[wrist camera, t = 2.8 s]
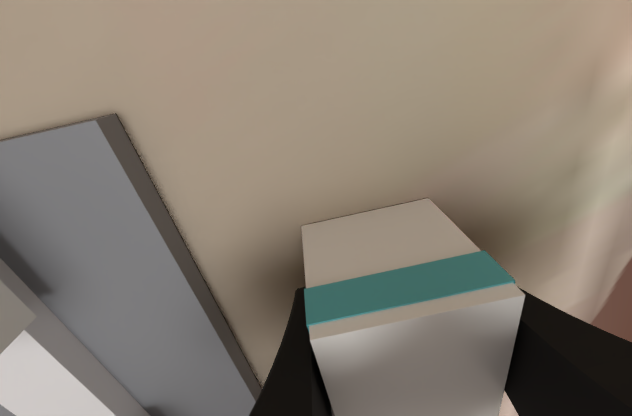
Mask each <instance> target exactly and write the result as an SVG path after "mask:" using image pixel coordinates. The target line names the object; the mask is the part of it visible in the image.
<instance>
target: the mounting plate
mask: <svg viewBox="0 0 632 416" xmlns="http://www.w3.org/2000/svg"><path fill="white" fill-rule="evenodd" d="M261 390H262V389H261V387H260V386H259V384H258V382H257V380H256V378H255V376H254V374H253V372H252V370H251V369H250V367H249V365H248V363H247V361H246V359H245V357H244V355H243V353H242V352H241V350H240V348H239V346H238V344H237V342H236V340H235V338H234V336H233V335H232V333H231V331H230V329H229V327H228V325H227V323H226V321H225V319H224V318H223V316H222V314H221V312H220V310H219V308H218V306H217V304H216V302H215V301H214V299H213V297H212V295H211V293H210V291H209V289H208V287H207V285H206V284H205V282H204V280H203V278H202V276H201V274H200V272H199V270H198V268H197V267H196V265H195V263H194V261H193V259H192V257H191V255H190V253H189V251H188V249H187V248H186V246H185V244H184V242H183V240H182V238H181V236H180V234H179V232H178V231H177V229H176V227H175V225H174V223H173V221H172V219H171V217H170V215H169V214H168V212H167V210H166V208H165V206H164V204H163V202H162V200H161V198H160V197H159V195H158V193H157V191H156V189H155V187H154V185H153V183H152V181H151V180H150V178H149V176H148V174H147V172H146V170H145V168H144V166H143V164H142V163H141V161H140V159H139V157H138V155H137V153H136V151H135V149H134V147H133V146H132V144H131V142H130V140H129V138H128V136H127V134H126V132H125V130H124V129H123V127H122V125H121V123H120V121H119V119H118V117H117V115H116V114H112V115H107V116H103V117H99V118H94V119H90V120H86V121H81V122H77V123H73V124H68V125H64V126H59V127H55V128H51V129H46V130H42V131H38V132H33V133H29V134H25V135H20V136H16V137H12V138H7V139H3V140H0V416H249V414H250V412H251V410H252V408H253V406H254V405H255V403H256V401H257V399H258V397H259V395H260V392H261Z"/></svg>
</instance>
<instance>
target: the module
mask: <svg viewBox="0 0 632 416" xmlns="http://www.w3.org/2000/svg"><path fill="white" fill-rule="evenodd" d="M301 229H302V242H303V256H304V269H305V282H306V289H304V297H305V312H306V325H307V328H308V331H309V334H310V342H311V345H312V348H313V351H314V354H315V357H316V360H317V363H318V366H319V369H320V372H321V375H322V378H323V381H324V385H325V388H326V391H327V394H328V397H329V400H330V403H331V406H332V409H333V412H334V415H335V416H499V411H500V407H501V402H502V398H503V393H504V389H505V384H506V380H507V375H508V371H509V366H510V362H511V357H512V353H513V348H514V344H515V339H516V335H517V330H518V326H519V321H520V317H521V312H522V308H523V303H524V299H525V294H524V293H523V292H522V291H521V290H520V289H519V288H518V287H517V286H516V285H515V280H514V279H513V278H512V277H511V276H510V275H509V274H508V273H507V272H506V271H505V270H504V269H503V268H502V267H501V266H500V265H499V264H498V263H497V262H496V261H495V260H494V259H493V258H492V257H491V256H490V255H489V254H488V253H487V252H486V251H485V250H483V251H481V250H480V249H479V248H478V247H477V246H476V245H475V244H474V243H473V242H472V241H471V240H470V239H469V238H468V237H467V236H466V235H465V234H464V233H463V232H462V231H461V230H460V229H459V228H458V227H457V226H456V225H455V224H454V223H453V222H452V221H451V220H450V219H449V218H448V217H447V216H446V215H445V214H444V213H443V212H442V211H441V210H440V209H439V208H438V207H437V206H436V205H435V204H434V203H433V202H432V201H431V200H430V199H429V198H427V199H422V200H417V201H413V202H408V203H404V204H399V205H395V206H390V207H386V208H381V209H376V210H372V211H367V212H363V213H358V214H354V215H349V216H344V217H340V218H335V219H331V220H326V221H322V222H317V223H312V224H308V225H303V226H301Z"/></svg>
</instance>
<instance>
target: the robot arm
mask: <svg viewBox="0 0 632 416" xmlns="http://www.w3.org/2000/svg"><path fill="white" fill-rule="evenodd" d="M518 288H519V287H518ZM304 289H306V287H303V288H298V289H297V290H296V292H295V298H294V302H293V306H292V310H291V314H290V317H289V321H288V324H287V327H286V330H285V333H284V336H283V339H282V342H281V345H280V348H279V350H278V353H277V355H276V358H275V361H274V363H273V366H272V368H271V370H270V373H269V375H268V377H267V380H266V382H265V384H264V386H263V388H262V390H261V392H260V395H259V397H258V399H257V401H256V403H255V405H254V406H253V408H252V410H251V412H250V414H249V416H332V412H331V403H330V400H329V397H328V394H327V391H326V388H325V385H324V381H323V378H322V375H321V372H320V369H319V366H318V363H317V360H316V357H315V354H314V351H313V348H312V345H311V342H310V334H309V331H308V328H307V325H306V312H305V297H304ZM519 289H520V288H519ZM520 290H521V291H522V292H523V293H524V294H525V299H524V303H523V308H522V312H521V317H520V321H519V326H518V330H517V335H516V339H515V344H514V348H513V353H512V357H511V362H510V366H509V371H508V375H507V380H506V384H505V389H504V390H505V392H506V393H507V395H508V397H509V399H510V401H511V402H512V404H513V406H514V408H515V409H516V411H517V413H518V415H519V416H632V342H629V341H627V340H625V339H622V338H619V337H617V336H615V335H613V334H610V333H608V332H606V331H604V330H601V329H599V328H597V327H595V326H593V325H591V324H588V323H586V322H584V321H582V320H580V319H578V318H575V317H573V316H571V315H569V314H567V313H565V312H563V311H561V310H559V309H557V308H555V307H553V306H552V305H550V304H548V303H546V302H544V301H542V300H540V299H538V298H536V297H535V296H533V295H531V294H529V293H527V292H526V291H524V290H522V289H520Z"/></svg>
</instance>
